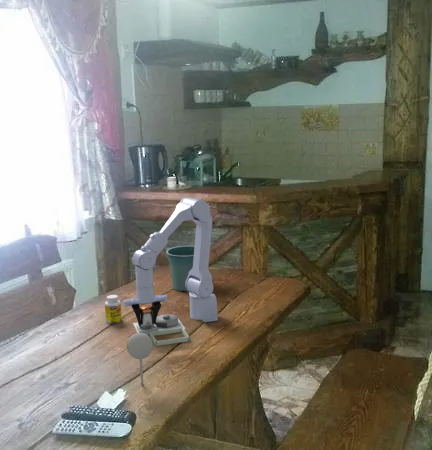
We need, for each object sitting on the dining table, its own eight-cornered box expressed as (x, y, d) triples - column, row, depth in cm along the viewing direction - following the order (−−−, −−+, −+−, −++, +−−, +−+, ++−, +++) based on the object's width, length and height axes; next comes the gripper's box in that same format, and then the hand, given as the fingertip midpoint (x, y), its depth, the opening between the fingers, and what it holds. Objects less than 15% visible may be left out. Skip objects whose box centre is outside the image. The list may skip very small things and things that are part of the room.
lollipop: (130, 379, 172) (126, 329, 169) (155, 377, 173) (152, 328, 170) (128, 391, 165) (125, 339, 162) (154, 389, 166) (152, 337, 163)
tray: (182, 334, 204) (182, 327, 204) (189, 344, 195) (189, 337, 195) (150, 338, 201) (149, 331, 200) (155, 349, 192) (155, 342, 192)
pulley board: (177, 320, 217) (177, 309, 216) (185, 332, 206) (185, 321, 205) (133, 326, 212) (132, 315, 212) (139, 338, 201) (138, 327, 200)
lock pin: (152, 327, 208) (151, 304, 206) (155, 331, 204) (154, 309, 202) (139, 328, 207) (138, 306, 205) (141, 333, 202) (140, 310, 201)
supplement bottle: (110, 327, 212) (108, 300, 210) (103, 323, 216) (101, 296, 214) (124, 324, 215) (122, 296, 213) (118, 319, 219) (116, 292, 217)
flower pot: (206, 293, 246) (205, 255, 243) (166, 294, 247) (164, 256, 243) (207, 281, 262) (206, 245, 259) (169, 282, 263) (168, 246, 259)
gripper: (163, 279, 208) (165, 317, 211) (121, 284, 204) (123, 322, 206) (168, 285, 201) (170, 324, 204) (124, 290, 197) (127, 330, 200)
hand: (147, 324), depth 205 cm, fingers closed on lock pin, 4 cm apart
